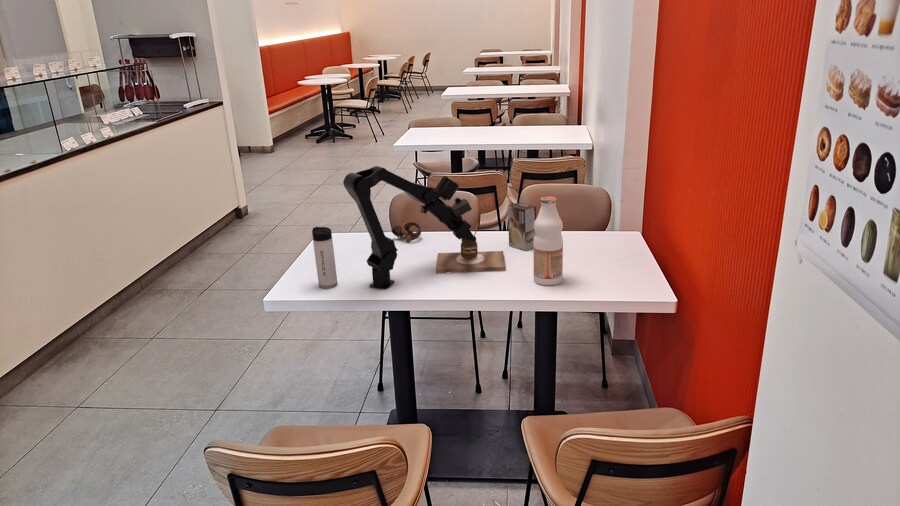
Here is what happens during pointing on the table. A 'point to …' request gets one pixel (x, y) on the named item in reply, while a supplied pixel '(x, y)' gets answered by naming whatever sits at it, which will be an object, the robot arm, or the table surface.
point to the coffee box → (521, 225)
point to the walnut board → (470, 262)
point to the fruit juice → (548, 244)
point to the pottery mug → (406, 231)
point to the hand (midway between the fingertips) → (472, 237)
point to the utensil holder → (469, 247)
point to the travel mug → (324, 257)
